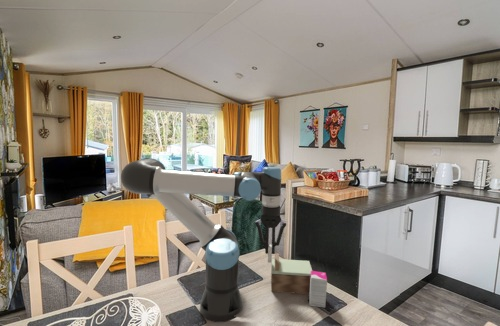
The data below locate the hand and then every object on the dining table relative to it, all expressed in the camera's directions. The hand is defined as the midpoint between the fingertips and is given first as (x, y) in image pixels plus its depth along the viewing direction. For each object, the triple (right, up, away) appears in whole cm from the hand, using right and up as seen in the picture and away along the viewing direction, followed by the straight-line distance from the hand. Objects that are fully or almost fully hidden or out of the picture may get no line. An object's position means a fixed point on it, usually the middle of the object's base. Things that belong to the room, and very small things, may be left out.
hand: (269, 260), depth 107 cm
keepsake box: (+9, -11, 0) cm, 14 cm away
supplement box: (+17, -13, -10) cm, 23 cm away
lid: (+9, -3, 0) cm, 9 cm away
